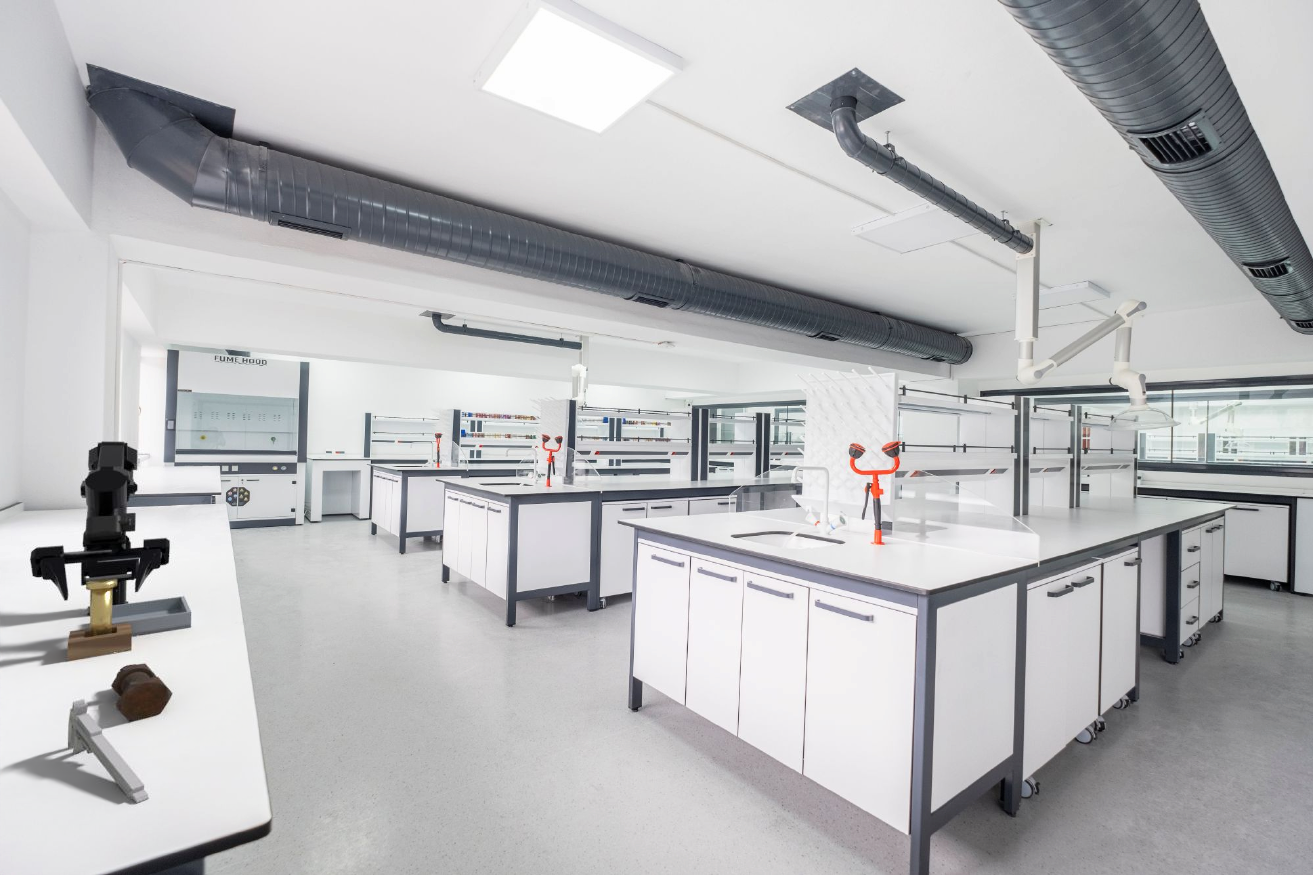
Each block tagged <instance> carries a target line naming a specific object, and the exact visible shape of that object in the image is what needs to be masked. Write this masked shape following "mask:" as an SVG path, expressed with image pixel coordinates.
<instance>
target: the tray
mask: <svg viewBox="0 0 1313 875" xmlns="http://www.w3.org/2000/svg"><path fill="white" fill-rule="evenodd" d="M129 622H131V631H132V636H133V637H138V636H137V635H139V636H143V635H144V636H145V635H151V633H152V634H156V633H162V632H170V631H176V630H182V629H187V628H188V629H189V628H192V611H191V608H190V606H189V604H188V602H187V599H186V598H185V596H184V595H183V596H182V595H181V596H176V597H175V596H174V597H168V598H167V597H166V598H162V599H161V598H159V599H153V600H145V601H137V602H131V603H130V602H128V604H121V605H114V606H112V625H116V624H122V623H129Z"/></svg>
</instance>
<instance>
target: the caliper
mask: <svg viewBox="0 0 1313 875" xmlns="http://www.w3.org/2000/svg"><path fill="white" fill-rule="evenodd" d="M88 706H89V704H88V703H85V699H84V698H83V699H79V700H75V701H73V702H72V706H71V707H72V708H70V710H69V717H68V725H67V727H68V729H67V730H68V731H67V747H68V749H69V750H72V749H73V750H72V754H74V755H75V754H78V753H82V752H83V751H86V753H87V754H93V755H94V756H95V757H96V759H97V760H98V761H99V762H100V764H101V765H102V766H103V767H104V769H105V770H106V772H107V773H108V774H109V775H110V777H111V778H112V779H113V780H114V782H115V783H116V784H117V786H118V787H119V788H120V789H121V791H122V792H123V793H124V795H125V796H127V797H128V798H129V799H131V800H133V802H135V803H136V804H138V803H141V802H143V801H145V800H148V799H150V797H149V795H148V792H147V791H146V790H145V784H144V783H143V781H142V780H141V779H140V778H139V776H138V775H137V774H136V773H135V772H134V771H133V769H132V768H131V767H130V765H128V763H127V762H126V760H124V758H122V756H121V755H120V754H119V752H118V751H117V750H116V749H115V747H113V745H112V744H111V743H110V742H109V740H108V739H107V738H106V737H105V736H104V734H103V729H102V728H101V727H100V726H99V725H98V723H97V722H96V721H95V719H93V717H92V715H90V714H89V713H87V712H88Z"/></svg>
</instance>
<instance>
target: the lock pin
mask: <svg viewBox="0 0 1313 875" xmlns="http://www.w3.org/2000/svg"><path fill="white" fill-rule="evenodd" d="M116 586H117V579H101V580H94V581H90V582H87V583H86V585H85V590H87V591H90V590H91V601H90V600H89V606H90V615H89V628H90V637H93V636H100V635H106V634H112V587H116Z"/></svg>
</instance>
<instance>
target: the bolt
mask: <svg viewBox="0 0 1313 875" xmlns="http://www.w3.org/2000/svg"><path fill="white" fill-rule="evenodd" d="M110 686H111V688H112V689H113V690H114V692H115V693H116V694H117V695H118V696H119V699H118V700H117V702H116V703H115V708H117V710H118V711H119V712H120V713H121V714H122V716H123V717H124V719H126V720H127V721H128V722H129V723H131V722H138V721H142V720H145V719H150V718H153V717H156V716H158V715H160V714H161V713H162V712H163V711H164V709H165V708H166V707H167V705H168V704H169V701H170V699H171V698H172V696H173V692H172V691H171V689H169V687H168V686H167V685H166V684H165V682H164V681H163V680H162V679H161V678H160V677H159V676H157V675H156V674H155V673H154V671H153V670H152V669H151V668H150V667H149V666H148V665H147V664H146V662H145V663H139V664H138V663H137V664H135V663H134V664H127V665H125V666H122V667H121V668H120V669H119V670H118V672H117V673H116V676H115V678H114V680H113V681H112V683H111V685H110Z"/></svg>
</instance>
